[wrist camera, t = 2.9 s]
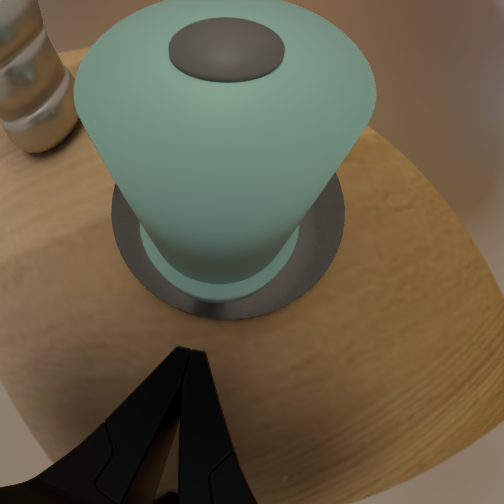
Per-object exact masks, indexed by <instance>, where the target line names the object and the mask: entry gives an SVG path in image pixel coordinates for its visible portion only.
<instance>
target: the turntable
mask: <svg viewBox="0 0 504 504" xmlns="http://www.w3.org/2000/svg"><path fill="white" fill-rule="evenodd" d="M344 214H345V208H344V200H343V193H342V190H341V186H340V182H339V180H338V177H337V175H336V172H335V173H334V175H333V176H332V177H331V179H330V180H329V182H328V183H327V185H326V186H325V188H324V189H323V191H322V192H321V193H320V195H319V196H318V198H317V199H316V201H315V202H314V204H313V205H312V206H311V208H310V209H309V211H308V212H307V214H306V215H305V216H304V218H303V219H302V221H301V222H300V224H299V233H298V238H297V242H296V245H295V247H294V250H293V252H292V254H291V256H290V258H289V260H288V261H287V263H286V264H285V265H284V267H283V268H282V269H281V270H280V271H279V272H278V273H277V275H276V276H275V277H274V278H273V279H272V280H271V281H270V282H269V283H268V284H267V285H266V286H265V287H264V288H262V289H261V290H260V291H258V292H257V293H255V294H253V295H251V296H250V297H247V298H245V299H242V300H239V301H235V302H230V303H209V302H203V301H199V300H196V299H193V298H191V297H189V296H187V295H185V294H183V293H182V292H180V291H178V290H177V289H176V288H175V287H173V286H172V285H171V284H170V283H169V282H168V281H167V280H166V278H165V277H164V276H163V275H162V274H161V273H160V272H159V271H158V269H157V268H156V267H155V266H154V265H153V263H152V261H151V260H150V258H149V257H148V255H147V253H146V250H145V248H144V245H143V242H142V239H141V233H140V221H139V220H138V218H137V217H136V215H135V213H134V212H133V210H132V209H131V207H130V205H129V204H128V202H127V201H126V199H125V197H124V196H123V194H122V192H121V191H120V189H119V187H118V186H117V184H115V188H114V193H113V198H112V213H111V215H112V225H113V231H114V235H115V239H116V243H117V245H118V248H119V250H120V253H121V255H122V257H123V259H124V261H125V262H126V264H127V266H128V267H129V269H130V270H131V272H132V273H133V274H134V275H135V276H136V278H137V279H138V280H139V281H140V282H141V283H142V284H143V285H144V286H145V287H146V288H147V289H148V290H149V291H151V292H152V293H153V294H154V295H156V296H157V297H159V298H160V299H162V300H163V301H165V302H166V303H168V304H169V305H171V306H173V307H175V308H177V309H180V310H182V311H184V312H186V313H190V314H193V315H196V316H199V317H204V318H210V319H217V320H238V319H247V318H253V317H257V316H260V315H264V314H267V313H270V312H272V311H275V310H277V309H279V308H282V307H284V306H286V305H288V304H289V303H291V302H293V301H294V300H296V299H298V298H299V297H301V296H302V295H303V294H304V293H306V292H307V291H308V290H309V289H310V288H312V287H313V286H314V285H315V284H316V282H317V281H318V280H319V279H320V278H321V277H322V276H323V275H324V273H325V272H326V270H327V269H328V267H329V266H330V264H331V263H332V261H333V259H334V257H335V255H336V252H337V250H338V248H339V245H340V241H341V238H342V234H343V228H344Z"/></svg>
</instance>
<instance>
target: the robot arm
mask: <svg viewBox="0 0 504 504" xmlns="http://www.w3.org/2000/svg"><path fill="white" fill-rule="evenodd" d="M179 420H180V433H179V471H178V494H176V493H174V492H169V493H166V494H165V495H163V496H161V497H159V498H158V499H156V500H154V498H155V495H156V492H157V488H158V485H159V482H160V479H161V476H162V473H163V470H164V467H165V463H166V460H167V457H168V454H169V451H170V448H171V445H172V442H173V439H174V436H175V433H176V430H177V427H178V424H179ZM169 498H173V499H175V500H176V501H171V500H169ZM0 504H258V503H257V501H256V499H255V498H254V496H253V494H252V492H251V490H250V488H249V486H248V484H247V482H246V479H245V477H244V474H243V472H242V469H241V467H240V464H239V461H238V458H237V455H236V452H234V447H233V444H232V440H231V437H230V434H229V431H228V428H227V425H226V421H225V418H224V415H223V411H222V408H221V405H220V401H219V398H218V394H217V391H216V387H215V384H214V380H213V377H212V373H211V369H210V366H209V362H208V358H207V354H206V352H205V351H200V350H195V349H193V350H191V349H189V348H185V347H180V346H178V347H176V348H175V349H174V350H173V351H172V352H171V353H170V354H169V355H168V356H167V357H166V358H165V359H164V360H163V361H162V362H161V363H160V364H159V365H158V366H157V367H156V368H155V369H154V370H153V372H152V373H151V374H150V375H149V376H148V377H147V378H146V379H145V380H144V381H143V382H142V383H141V384H140V385H139V386H138V387H137V388H136V389H135V390H134V391H133V392H132V393H131V394H130V395H129V396H128V397H127V398H126V399H125V400H124V401H123V402H122V403H121V404H120V405H119V406H118V407H117V408H116V409H115V410H114V411H113V412H112V413H111V414H110V415H109V417H108V418H107V419H106V420H105V423H104V422H102V423H101V424H100V425H99V426H98V427H97V428H96V430H95V431H93V432H92V433H91V434H90V435H89V436H88V437H87V438H86V439H85V440H84V441H83V442H82V443H80V444H79V445H78V446H77V447H75V448H74V449H73V450H72V451H70V452H69V453H68V454H66V455H65V456H64V457H62V458H61V459H60V460H58V461H57V462H55V463H54V464H53V465H51V466H50V467H49V468H47V469H46V470H44V471H43V472H42V473H40V474H39V475H37V476H36V477H34V478H32V479H30V480H28V481H25V482H23V483H19V484H15V485H10V486H5V487H0Z"/></svg>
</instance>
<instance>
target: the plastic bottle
mask: <svg viewBox="0 0 504 504" xmlns="http://www.w3.org/2000/svg"><path fill="white" fill-rule="evenodd" d="M74 83H75V79H74V77H73V76H72V74H71V73H70V71H69V70H68V69H67V68H66V66H64V65H63V63H62V61H61V59H60V57H59V56H58V54H57V52H56V50H55V48H54V46H53V44H52V43H51V41H50V39H49V37H48V34H47V31H46V27H45V25H44V24H43V17H42V14H41V10H40V7H39V3H38V0H0V121H1V123H2V126H3V128H4V130H5V131H6V133H7V135H8V137H9V139H10V140H11V142H12V143H14V144H15V145H16V146H18V147H19V148H20V149H22V150H23V151H25V152H29V153H37V152H44V151H47V150H49V149H51V148H53V147H55V146H57V145H58V144H59V143H61V142H62V141H63V140H64V139H65V138H66V137H67V136H68V135H69V134H70V133H71V131H72V130H73V128H74V127H75V125H76V123H77V121H78V119H79V116H78V114H77V111H76V107H75V103H74Z"/></svg>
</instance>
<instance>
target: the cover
mask: <svg viewBox="0 0 504 504" xmlns="http://www.w3.org/2000/svg"><path fill="white" fill-rule="evenodd" d="M74 103H75V107H76V111H77V114H78V116H79V118H80V120H81V122H82V124H83V125H84V127H85V129H86V131H87V133H88V135H89V137H90V138H91V140H92V142H93V144H94V146H95V148H96V149H97V151H98V153H99V155H100V156H101V158H102V160H103V162H104V163H105V165H106V167H107V169H108V170H109V172H110V174H111V176H112V177H113V179H114V181H115V182H116V184H117V186H118V187H119V189H120V191H121V192H122V194H123V196H124V197H125V199H126V201H127V202H128V204H129V205H130V207H131V209H132V210H133V212H134V213H135V215H136V217H137V218H138V220H139V221H140V233H141V239H142V242H143V245H144V248H145V250H146V253H147V255H148V257H149V258H150V260H151V261H152V263H153V265H154V266H155V267H156V268H157V269H158V271H159V272H160V273H161V274H162V275H163V276H164V277H165V278H166V280H167V281H168V282H169V283H170V284H171V285H172V286H173V287H175V288H176V289H177V290H178V291H180V292H182V293H183V294H185V295H187V296H189V297H191V298H193V299H196V300H199V301H203V302H209V303H230V302H235V301H239V300H242V299H245V298H247V297H250V296H251V295H253V294H255V293H257V292H258V291H260V290H261V289H262V288H264V287H265V286H266V285H267V284H268V283H269V282H270V281H271V280H272V279H273V278H274V277H275V276H276V275H277V273H278V272H279V271H280V270H281V269H282V268H283V267H284V265H285V264H286V263H287V261H288V260H289V258H290V256H291V254H292V252H293V250H294V247H295V245H296V242H297V238H298V233H299V224H300V222H301V221H302V219H303V218H304V216H305V215H306V214H307V212H308V211H309V209H310V208H311V206H312V205H313V204H314V202H315V201H316V199H317V198H318V196H319V195H320V193H321V192H322V191H323V189H324V188H325V186H326V185H327V183H328V182H329V180H330V179H331V177H332V176H333V175H334V173H335V172H336V170H337V169H338V167H339V166H340V164H341V163H342V161H343V160H344V158H345V157H346V155H347V154H348V152H349V151H350V150H351V148H352V147H353V145H354V144H355V142H356V141H357V139H358V138H359V136H360V135H361V133H362V132H363V130H364V129H365V127H366V126H367V124H368V123H369V120H370V118H371V116H372V114H373V112H374V107H375V103H376V84H375V80H374V75H373V73H372V70H371V68H370V66H369V64H368V62H367V60H366V58H365V57H364V55H363V54H362V52H361V51H360V50H359V48H358V47H357V46H356V45H355V44H354V43H353V41H351V40H350V39H349V37H348V36H347V35H345V34H344V33H343V32H342V31H340V30H339V29H338V28H337V27H336V26H334V25H333V24H331V23H330V22H328V21H327V20H325V19H324V18H322V17H320V16H318V15H316V14H315V13H313V12H311V11H309V10H306V9H304V8H302V7H300V6H297V5H294V4H291V3H288V2H286V1H282V0H165V1H162V2H159V3H156V4H153V5H151V6H149V7H146V8H144V9H141V10H139V11H138V12H135V13H133V14H131V15H130V16H128V17H126V18H124V19H123V20H121V21H120V22H118V23H117V24H115V25H114V26H113V27H111V28H110V29H109V30H108V31H107V32H105V33H104V34H103V35H102V36H101V37H100V38H99V39H98V40H97V41H96V42H95V43H94V45H93V46H92V47H91V48H90V49H89V51H88V52H87V53H86V55H85V57H84V59H83V60H82V62H81V64H80V66H79V69H78V71H77V74H76V77H75V83H74Z"/></svg>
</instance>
